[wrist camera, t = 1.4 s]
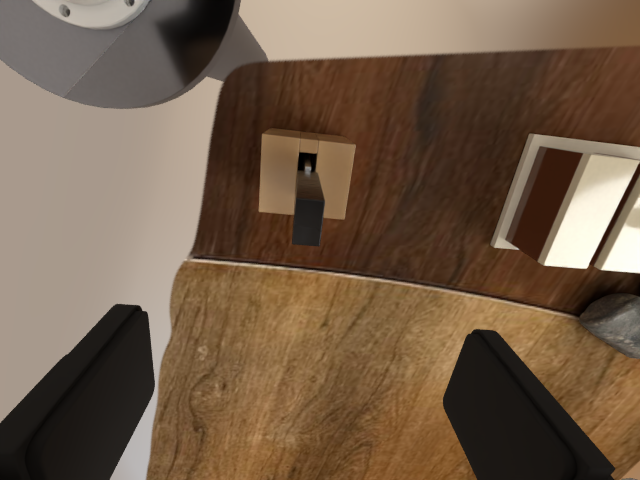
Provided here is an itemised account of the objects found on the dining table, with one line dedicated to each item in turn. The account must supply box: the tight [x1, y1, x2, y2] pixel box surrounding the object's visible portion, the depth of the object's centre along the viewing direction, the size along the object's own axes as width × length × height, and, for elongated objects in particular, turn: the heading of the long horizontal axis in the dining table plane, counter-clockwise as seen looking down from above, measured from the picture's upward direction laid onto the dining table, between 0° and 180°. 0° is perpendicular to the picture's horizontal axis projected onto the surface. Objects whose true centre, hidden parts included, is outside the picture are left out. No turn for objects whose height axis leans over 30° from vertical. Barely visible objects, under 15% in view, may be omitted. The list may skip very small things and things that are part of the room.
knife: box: [292, 153, 325, 246], centre depth 23 cm, size 1×3×17 cm, turn 173°
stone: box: [579, 293, 640, 359], centre depth 39 cm, size 14×4×10 cm
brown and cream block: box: [490, 134, 640, 273], centre depth 31 cm, size 12×12×7 cm
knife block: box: [259, 128, 356, 219], centre depth 28 cm, size 7×6×7 cm
